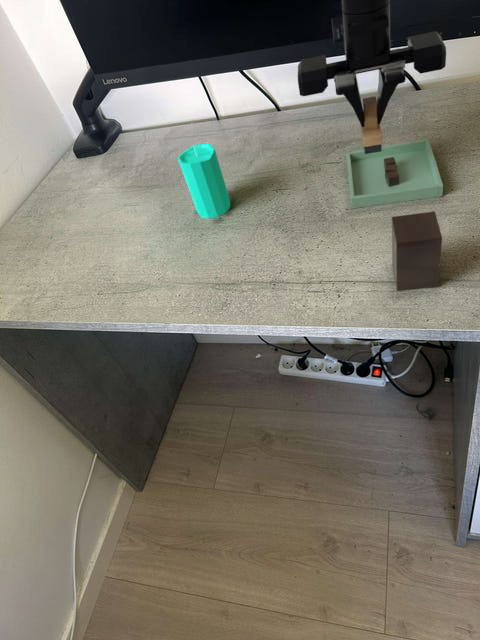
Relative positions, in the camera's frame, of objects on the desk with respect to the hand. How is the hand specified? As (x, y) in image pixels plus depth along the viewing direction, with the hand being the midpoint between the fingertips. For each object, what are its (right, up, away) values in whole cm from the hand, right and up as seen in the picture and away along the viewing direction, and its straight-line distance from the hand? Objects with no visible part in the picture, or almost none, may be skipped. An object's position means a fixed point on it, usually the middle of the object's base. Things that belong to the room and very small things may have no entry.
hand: (370, 124), depth 72 cm
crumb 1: (+5, -4, +8) cm, 10 cm away
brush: (+1, -2, +2) cm, 3 cm away
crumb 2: (+5, -6, +6) cm, 10 cm away
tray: (+5, -6, +6) cm, 10 cm away
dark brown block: (+3, -23, -8) cm, 25 cm away
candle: (-24, -9, +13) cm, 29 cm away
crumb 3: (+5, -7, +5) cm, 10 cm away
